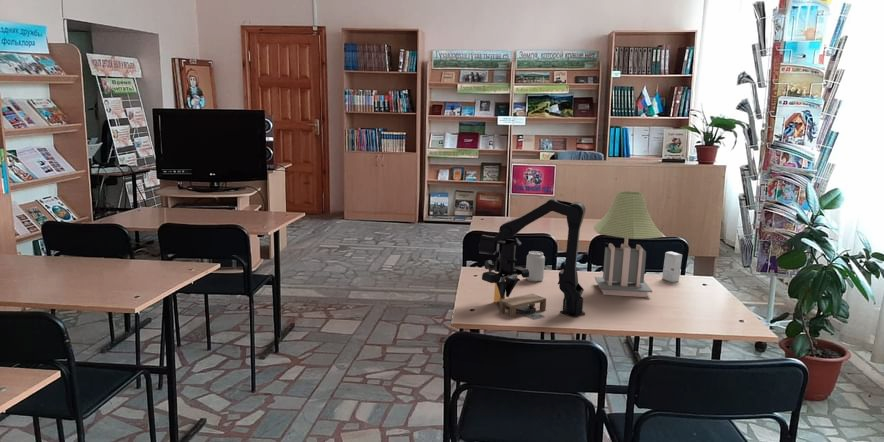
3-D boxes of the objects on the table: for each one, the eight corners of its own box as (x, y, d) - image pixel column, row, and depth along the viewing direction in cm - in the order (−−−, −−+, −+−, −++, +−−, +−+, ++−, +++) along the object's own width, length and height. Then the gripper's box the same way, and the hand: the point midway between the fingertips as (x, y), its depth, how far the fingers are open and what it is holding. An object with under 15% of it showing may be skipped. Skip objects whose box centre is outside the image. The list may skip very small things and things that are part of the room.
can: (523, 280, 269) (524, 252, 267) (529, 276, 276) (530, 249, 273) (539, 283, 266) (541, 255, 263) (545, 279, 272) (547, 251, 270)
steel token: (544, 318, 222) (544, 315, 222) (534, 320, 220) (534, 318, 219) (534, 314, 226) (534, 311, 226) (524, 316, 224) (524, 314, 223)
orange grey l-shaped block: (535, 311, 228) (537, 289, 227) (524, 314, 224) (525, 292, 223) (501, 300, 240) (502, 279, 239) (490, 302, 236) (491, 282, 235)
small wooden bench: (545, 310, 230) (546, 298, 229) (512, 317, 220) (513, 305, 219) (531, 305, 235) (532, 293, 234) (499, 312, 226) (499, 300, 225)
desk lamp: (646, 283, 271) (655, 189, 264) (662, 303, 243) (672, 199, 236) (585, 279, 273) (592, 187, 266) (594, 299, 246) (602, 196, 239)
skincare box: (661, 278, 279) (664, 251, 277) (668, 277, 281) (671, 251, 279) (672, 282, 274) (675, 254, 272) (680, 281, 276) (682, 254, 274)
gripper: (511, 249, 244) (508, 288, 247) (473, 254, 233) (471, 295, 236) (531, 255, 235) (528, 295, 238) (493, 260, 224) (490, 303, 227)
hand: (504, 297), depth 235 cm, fingers closed on orange grey l-shaped block, 2 cm apart
